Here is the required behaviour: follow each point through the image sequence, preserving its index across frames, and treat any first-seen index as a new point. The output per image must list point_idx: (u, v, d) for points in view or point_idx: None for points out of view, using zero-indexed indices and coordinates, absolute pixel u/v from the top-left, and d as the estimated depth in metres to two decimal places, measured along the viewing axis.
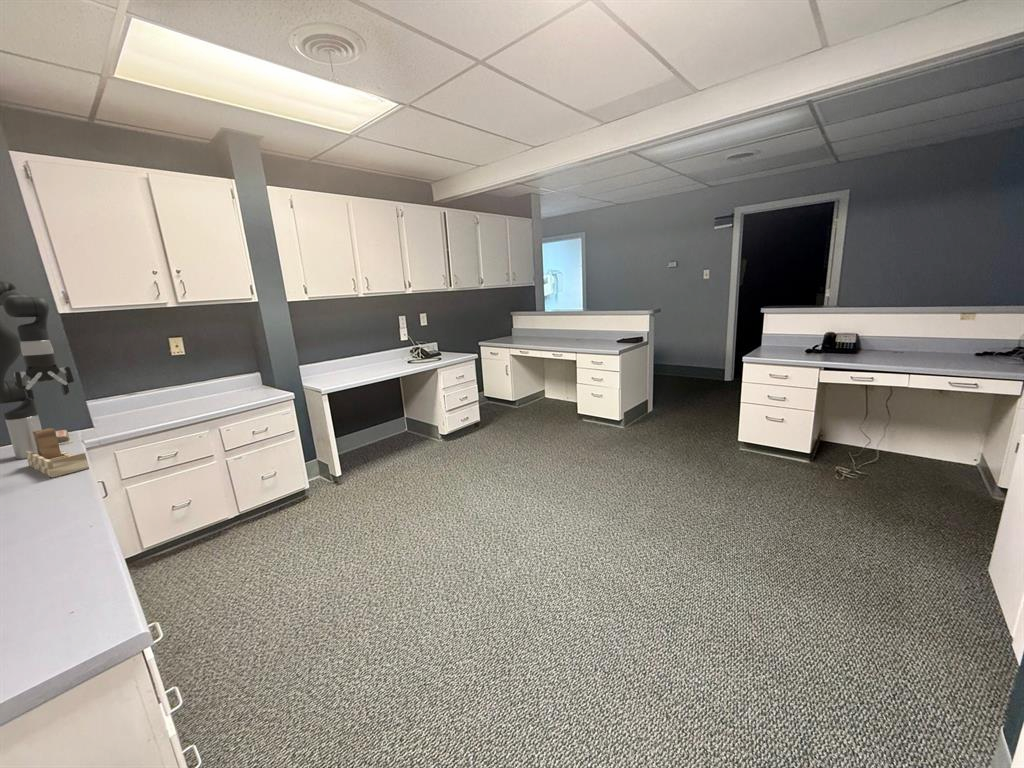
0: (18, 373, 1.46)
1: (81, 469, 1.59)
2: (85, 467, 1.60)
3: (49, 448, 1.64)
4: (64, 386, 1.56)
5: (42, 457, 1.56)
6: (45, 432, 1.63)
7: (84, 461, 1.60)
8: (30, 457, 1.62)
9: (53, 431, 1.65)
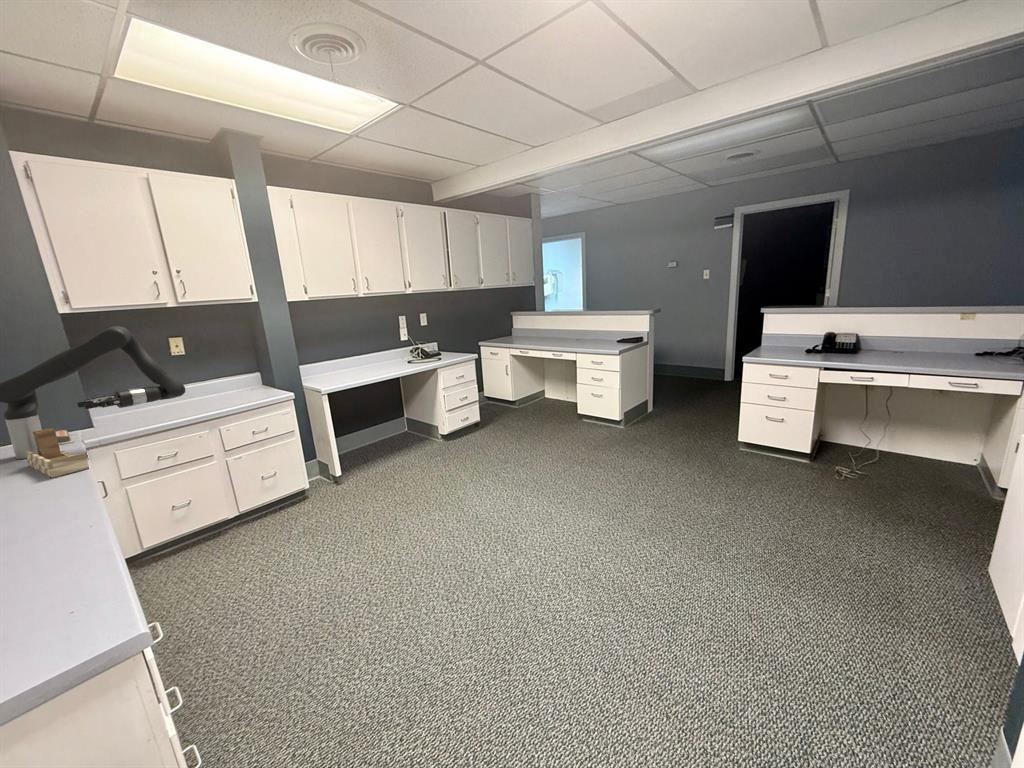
0: None
1: (81, 469, 1.59)
2: (85, 467, 1.60)
3: (49, 448, 1.64)
4: None
5: (42, 457, 1.56)
6: (45, 432, 1.63)
7: (84, 461, 1.60)
8: (30, 457, 1.62)
9: (53, 431, 1.65)
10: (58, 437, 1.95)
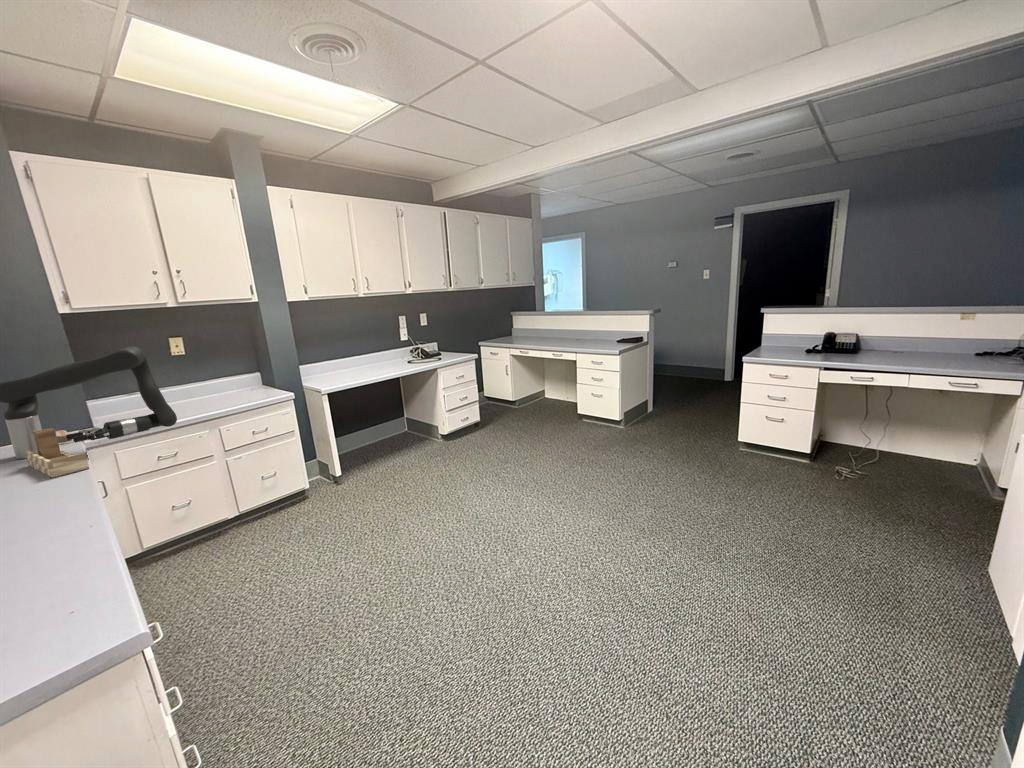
0: None
1: (81, 469, 1.59)
2: (85, 467, 1.60)
3: (49, 448, 1.64)
4: None
5: (42, 457, 1.56)
6: (45, 432, 1.63)
7: (84, 461, 1.60)
8: (30, 457, 1.62)
9: (53, 431, 1.65)
10: (60, 437, 1.95)
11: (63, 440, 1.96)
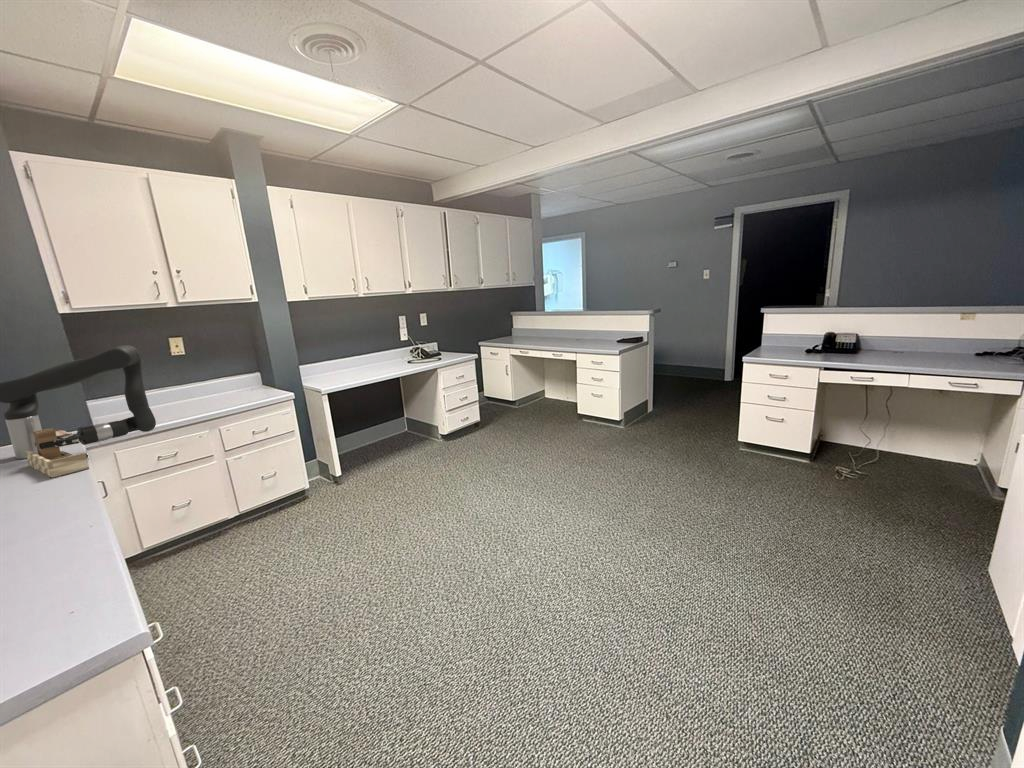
0: None
1: (81, 469, 1.59)
2: (85, 467, 1.60)
3: (49, 448, 1.64)
4: None
5: (42, 457, 1.56)
6: (45, 432, 1.63)
7: (84, 461, 1.60)
8: (30, 457, 1.62)
9: (53, 431, 1.65)
10: None
11: None
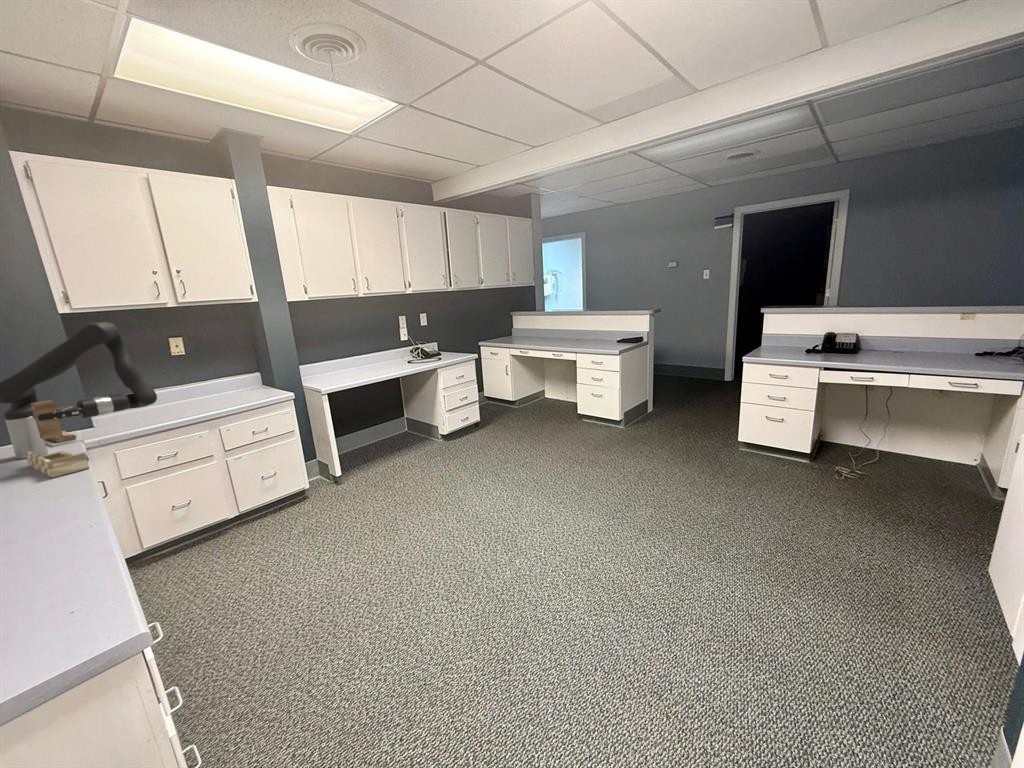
0: None
1: (81, 469, 1.59)
2: (85, 467, 1.60)
3: (48, 420, 1.60)
4: None
5: (42, 457, 1.56)
6: (44, 403, 1.58)
7: (84, 461, 1.60)
8: (30, 457, 1.62)
9: (52, 403, 1.60)
10: (65, 436, 1.96)
11: (68, 439, 1.97)
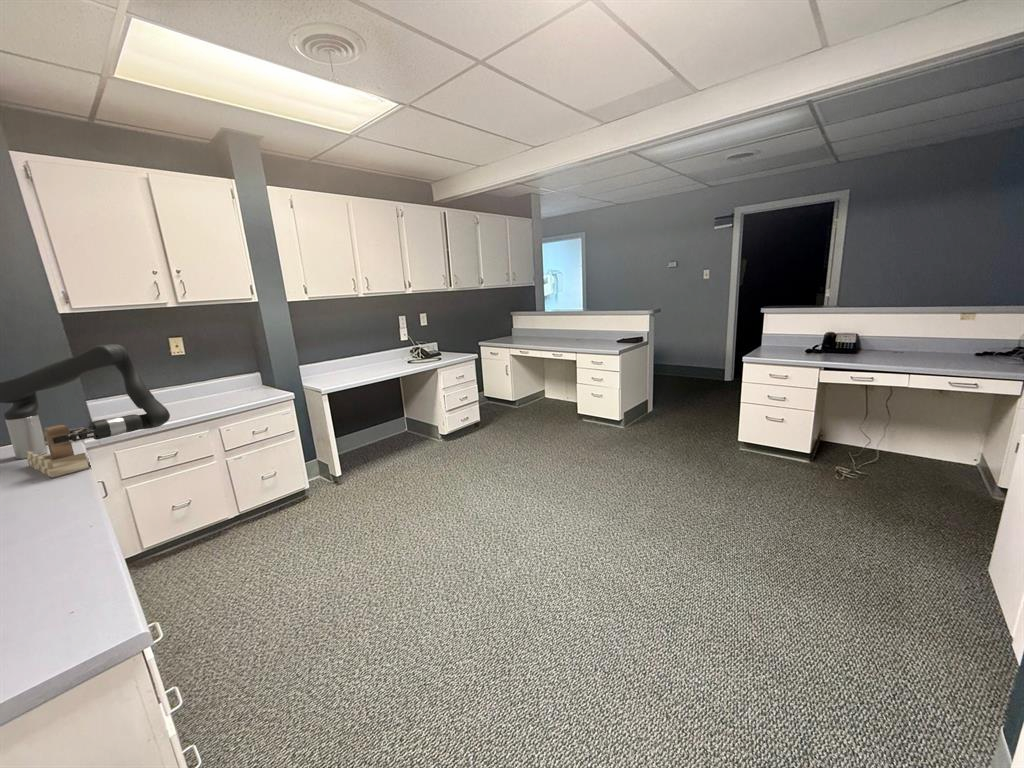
0: None
1: (81, 469, 1.59)
2: (85, 467, 1.60)
3: (61, 445, 1.56)
4: None
5: (42, 457, 1.56)
6: (57, 429, 1.55)
7: (84, 461, 1.60)
8: (30, 457, 1.62)
9: (65, 428, 1.56)
10: None
11: None
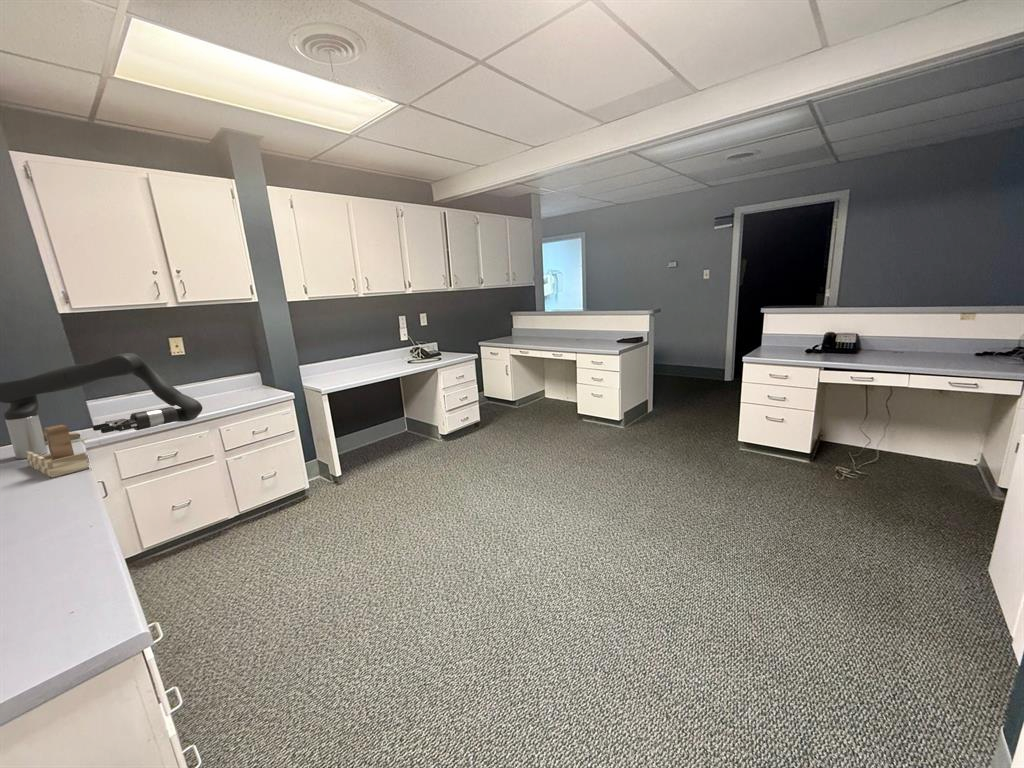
0: None
1: (81, 469, 1.59)
2: (85, 467, 1.60)
3: (61, 445, 1.56)
4: None
5: (42, 457, 1.56)
6: (57, 429, 1.55)
7: (84, 461, 1.60)
8: (30, 457, 1.62)
9: (65, 428, 1.56)
10: (71, 435, 1.98)
11: (73, 438, 1.99)
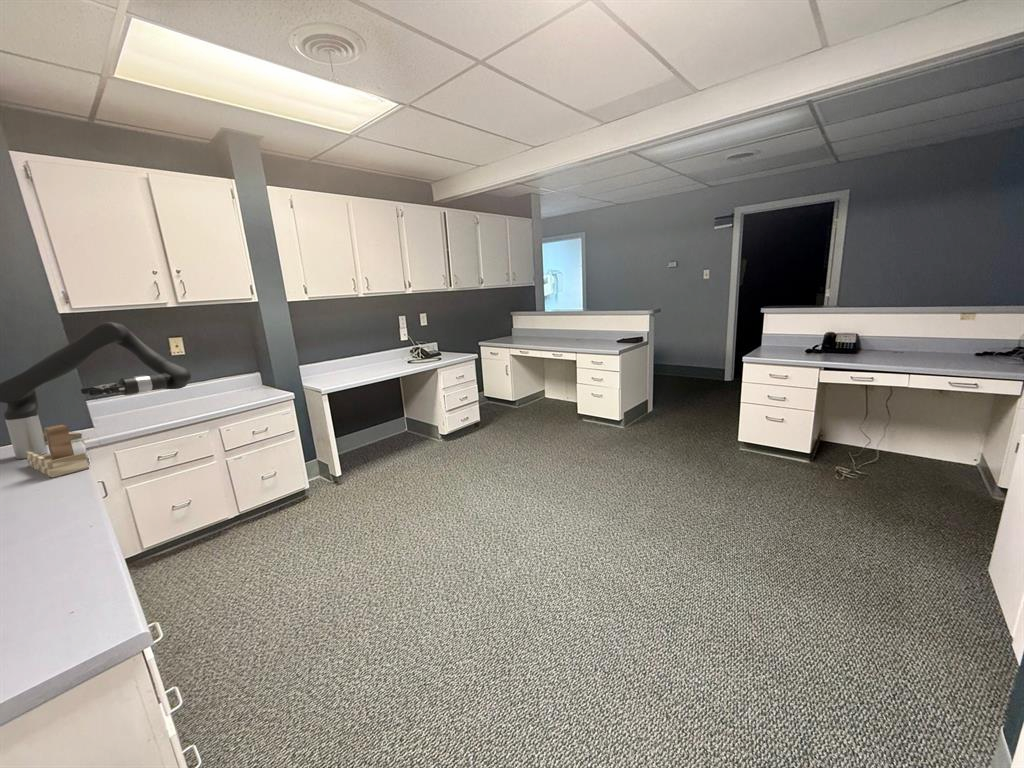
0: None
1: (81, 469, 1.59)
2: (85, 467, 1.60)
3: (61, 445, 1.56)
4: None
5: (42, 457, 1.56)
6: (57, 429, 1.55)
7: (84, 461, 1.60)
8: (30, 457, 1.62)
9: (65, 428, 1.56)
10: (73, 434, 1.99)
11: (75, 437, 2.00)
